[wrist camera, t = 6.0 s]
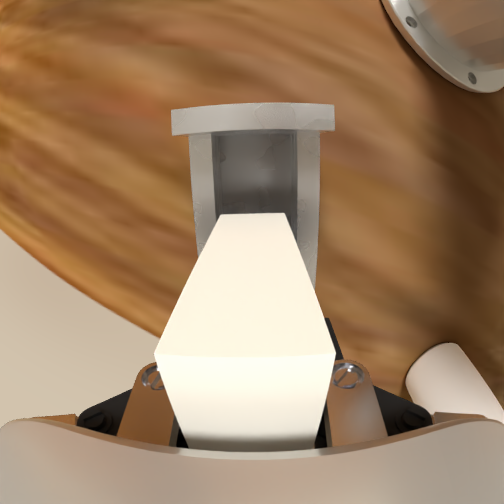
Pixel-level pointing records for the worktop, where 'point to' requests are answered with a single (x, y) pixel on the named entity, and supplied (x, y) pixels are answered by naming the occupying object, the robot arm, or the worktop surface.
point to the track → (257, 165)
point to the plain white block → (248, 343)
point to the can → (451, 384)
